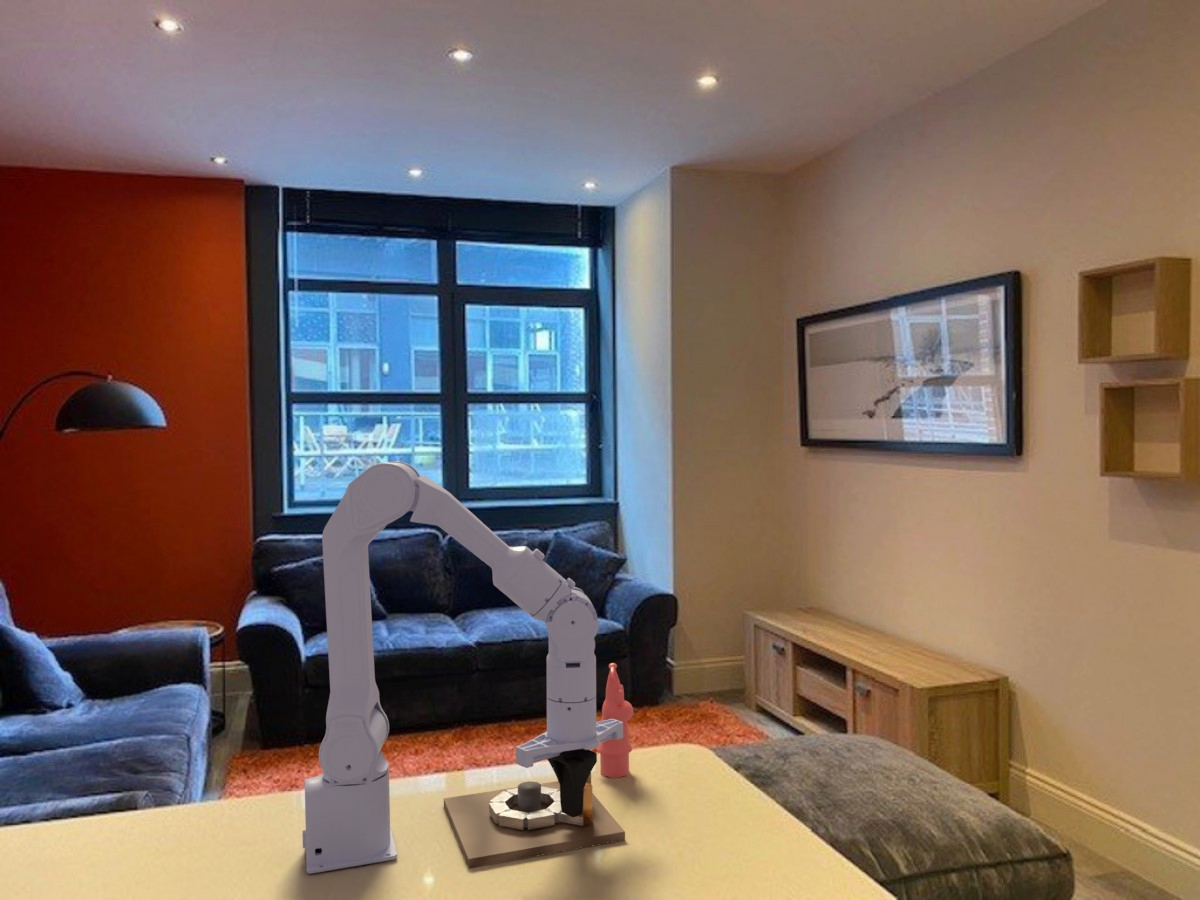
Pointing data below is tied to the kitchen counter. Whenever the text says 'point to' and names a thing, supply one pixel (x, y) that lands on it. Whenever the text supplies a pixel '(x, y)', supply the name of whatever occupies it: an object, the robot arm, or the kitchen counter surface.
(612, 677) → the figurine
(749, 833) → the kitchen counter surface
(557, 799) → the white segmented ring
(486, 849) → the peg base
